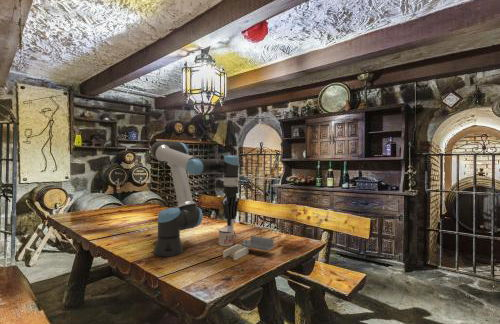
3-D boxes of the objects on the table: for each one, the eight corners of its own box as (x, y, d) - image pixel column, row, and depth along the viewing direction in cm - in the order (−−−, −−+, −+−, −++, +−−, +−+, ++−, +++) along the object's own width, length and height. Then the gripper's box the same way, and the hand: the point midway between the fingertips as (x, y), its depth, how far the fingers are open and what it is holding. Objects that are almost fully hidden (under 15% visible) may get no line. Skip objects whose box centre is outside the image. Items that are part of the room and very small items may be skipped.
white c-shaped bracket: (223, 257, 145) (223, 250, 145) (240, 248, 160) (240, 242, 160) (235, 260, 141) (235, 253, 141) (251, 251, 156) (251, 244, 156)
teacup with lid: (224, 247, 161) (225, 227, 161) (215, 244, 167) (215, 225, 167) (239, 243, 170) (240, 224, 169) (230, 240, 176) (230, 222, 176)
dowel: (231, 260, 143) (235, 257, 142) (228, 255, 144) (232, 252, 143) (240, 255, 151) (244, 252, 150) (237, 250, 152) (241, 247, 151)
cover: (267, 250, 145) (267, 243, 145) (238, 245, 154) (238, 237, 154) (274, 246, 152) (274, 239, 152) (246, 241, 161) (246, 234, 161)
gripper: (229, 187, 134) (229, 235, 134) (243, 185, 145) (243, 230, 145) (217, 186, 138) (216, 233, 138) (232, 184, 149) (231, 228, 149)
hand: (230, 231), depth 141 cm, fingers closed
